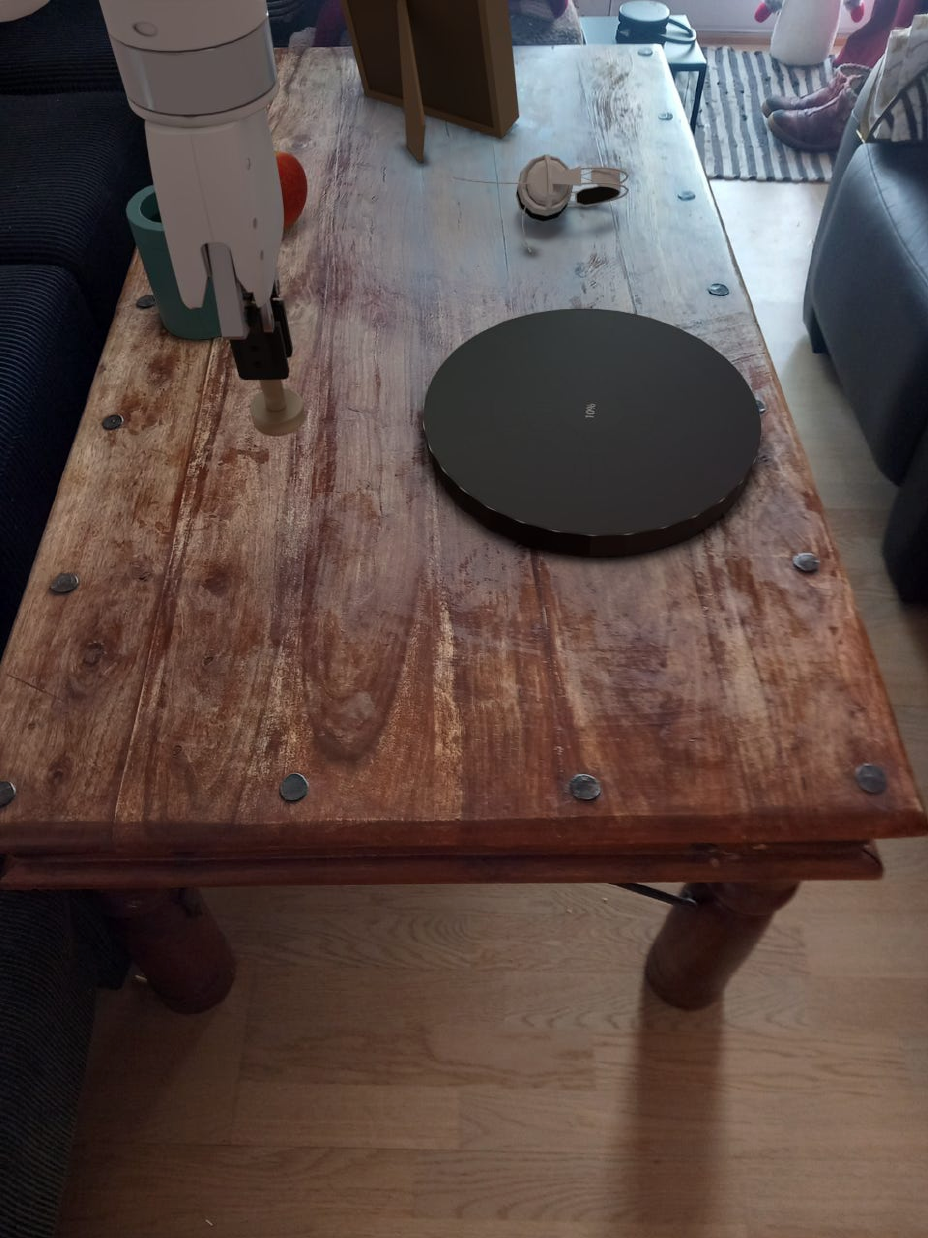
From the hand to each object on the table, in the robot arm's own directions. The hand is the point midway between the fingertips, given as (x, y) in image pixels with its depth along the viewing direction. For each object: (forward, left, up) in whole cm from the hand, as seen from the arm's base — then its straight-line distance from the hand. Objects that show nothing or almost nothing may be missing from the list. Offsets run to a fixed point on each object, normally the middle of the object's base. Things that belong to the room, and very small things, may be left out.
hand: (266, 364), depth 60 cm
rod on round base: (0, 0, -5) cm, 5 cm away
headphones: (+22, +49, -21) cm, 57 cm away
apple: (-8, +51, -21) cm, 55 cm away
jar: (-14, +35, -20) cm, 42 cm away
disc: (+24, +15, -21) cm, 35 cm away
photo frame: (+8, +73, -21) cm, 76 cm away
